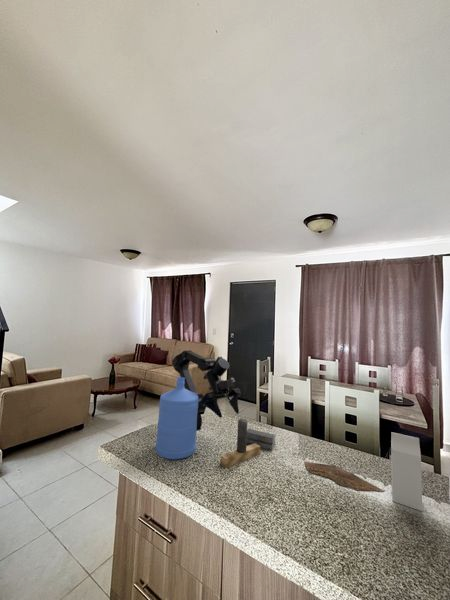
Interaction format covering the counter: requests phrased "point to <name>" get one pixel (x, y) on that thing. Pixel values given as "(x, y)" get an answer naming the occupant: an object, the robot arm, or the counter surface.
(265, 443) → the ridge stand
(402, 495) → the milk carton
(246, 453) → the tan grey t-shaped tool
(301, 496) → the counter surface
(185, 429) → the water jug
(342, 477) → the wooden fragment
